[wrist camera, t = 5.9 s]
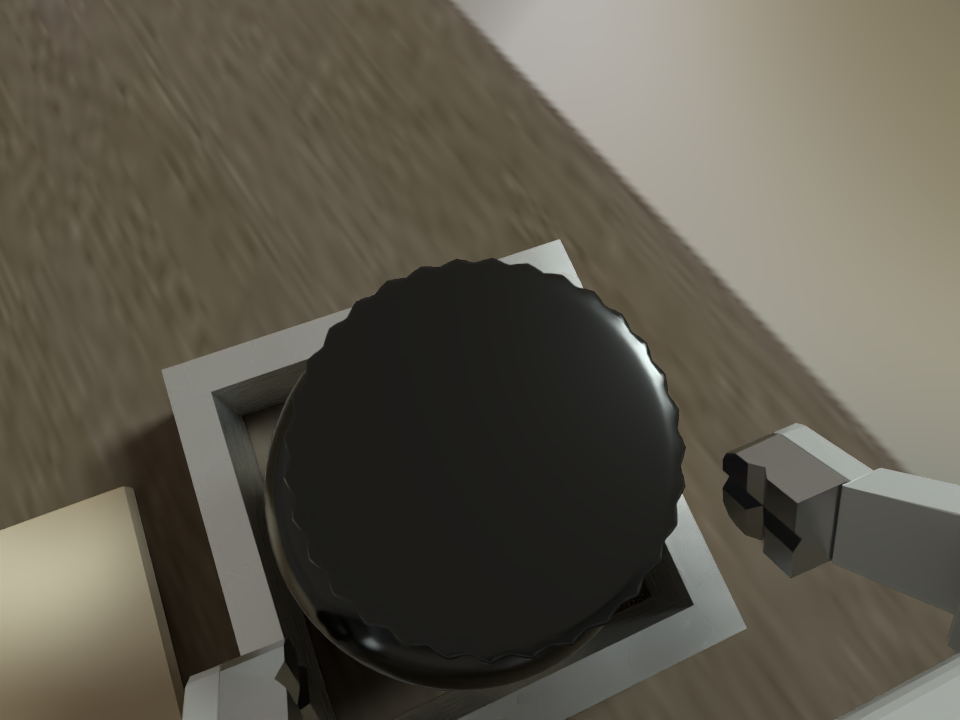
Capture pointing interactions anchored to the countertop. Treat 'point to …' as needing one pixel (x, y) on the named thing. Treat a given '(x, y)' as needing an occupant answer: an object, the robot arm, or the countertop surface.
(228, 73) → the countertop surface
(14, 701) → the birch pad
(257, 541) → the steel holder
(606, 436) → the supplement bottle
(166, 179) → the countertop surface
